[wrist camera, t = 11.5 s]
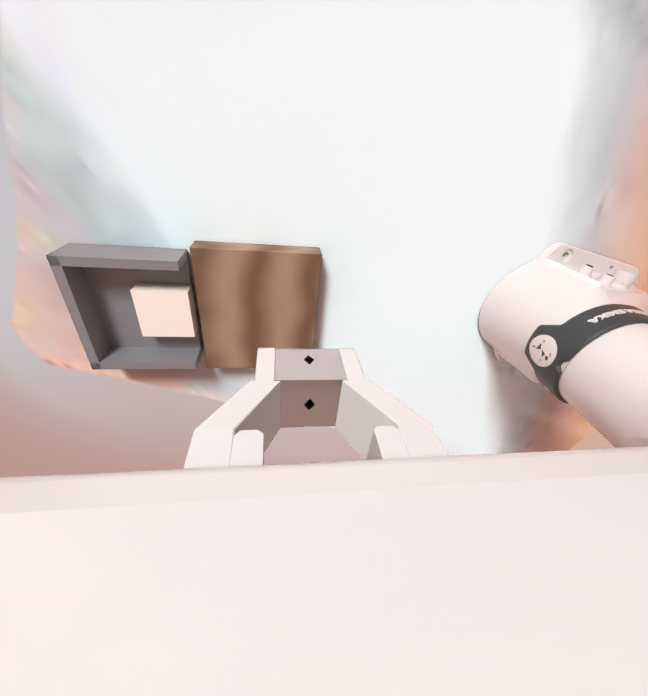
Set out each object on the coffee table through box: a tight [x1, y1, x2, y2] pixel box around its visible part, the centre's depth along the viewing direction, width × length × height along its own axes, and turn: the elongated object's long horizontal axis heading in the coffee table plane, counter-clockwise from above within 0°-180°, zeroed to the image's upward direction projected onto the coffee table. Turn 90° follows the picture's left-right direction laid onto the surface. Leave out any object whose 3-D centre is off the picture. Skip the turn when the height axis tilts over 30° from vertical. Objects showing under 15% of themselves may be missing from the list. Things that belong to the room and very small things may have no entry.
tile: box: [130, 283, 198, 337], centre depth 38 cm, size 6×6×2 cm
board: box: [190, 241, 322, 368], centre depth 40 cm, size 14×16×2 cm
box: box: [46, 243, 202, 369], centre depth 37 cm, size 12×14×4 cm
